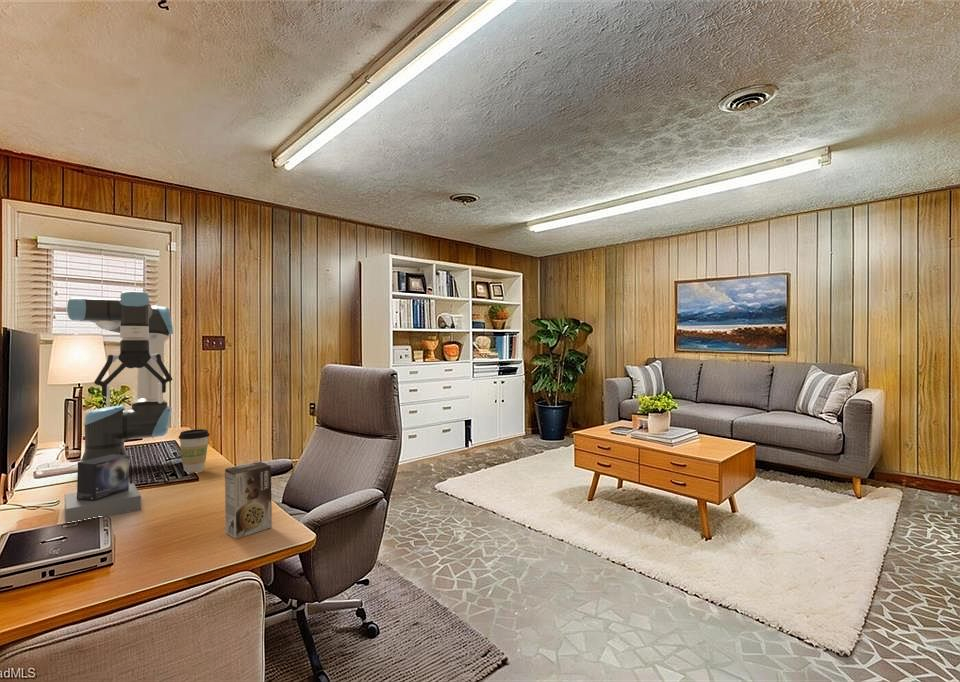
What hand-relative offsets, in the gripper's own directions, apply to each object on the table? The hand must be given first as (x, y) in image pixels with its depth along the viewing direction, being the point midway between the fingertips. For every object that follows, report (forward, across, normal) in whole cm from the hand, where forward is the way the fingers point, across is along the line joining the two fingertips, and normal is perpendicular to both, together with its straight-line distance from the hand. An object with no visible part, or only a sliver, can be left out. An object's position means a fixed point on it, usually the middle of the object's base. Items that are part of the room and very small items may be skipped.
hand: (134, 404), depth 151 cm
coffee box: (+27, +17, -61) cm, 69 cm away
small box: (+23, -9, -16) cm, 30 cm away
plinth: (+27, -9, -16) cm, 33 cm away
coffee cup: (+28, +19, +11) cm, 35 cm away
